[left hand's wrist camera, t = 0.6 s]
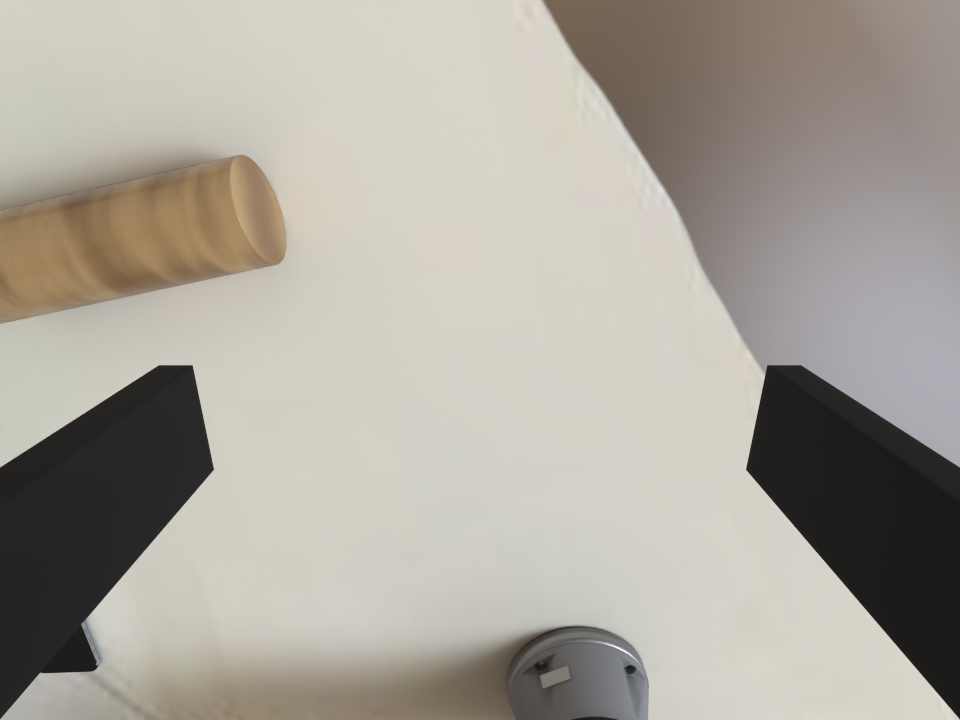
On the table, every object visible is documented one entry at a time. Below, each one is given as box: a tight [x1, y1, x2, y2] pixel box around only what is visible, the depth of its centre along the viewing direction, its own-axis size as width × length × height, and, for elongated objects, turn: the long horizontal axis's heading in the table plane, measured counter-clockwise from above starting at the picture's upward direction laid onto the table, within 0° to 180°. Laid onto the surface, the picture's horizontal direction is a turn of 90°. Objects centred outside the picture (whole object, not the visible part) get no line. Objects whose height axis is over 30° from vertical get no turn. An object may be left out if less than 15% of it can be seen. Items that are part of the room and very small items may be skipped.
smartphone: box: [41, 621, 100, 673], centre depth 56 cm, size 7×1×15 cm
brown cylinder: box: [0, 155, 286, 324], centre depth 39 cm, size 24×8×8 cm, turn 102°
